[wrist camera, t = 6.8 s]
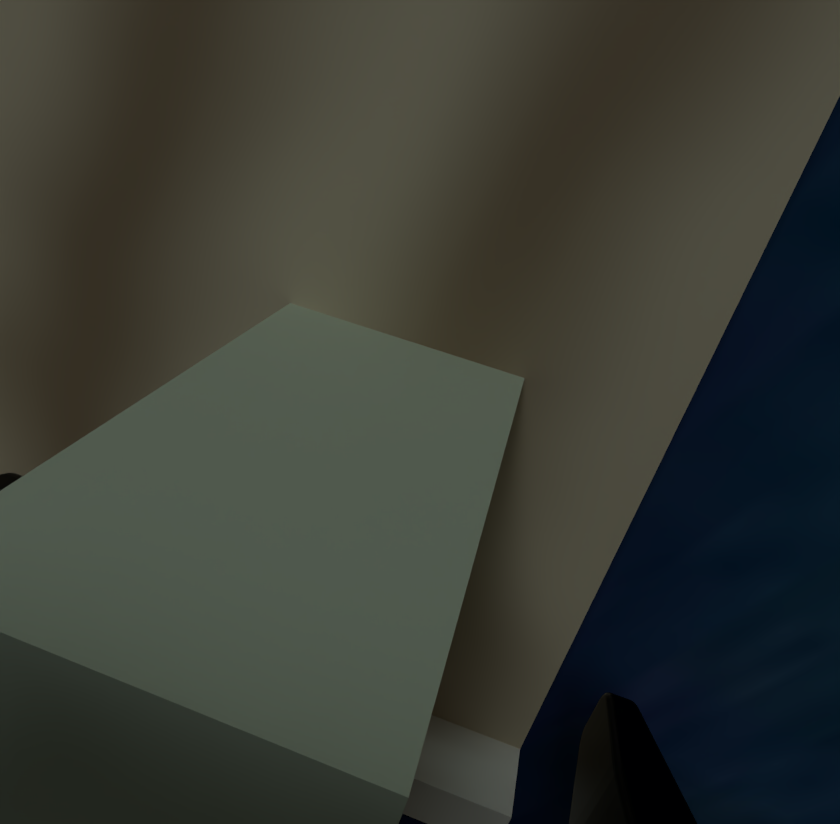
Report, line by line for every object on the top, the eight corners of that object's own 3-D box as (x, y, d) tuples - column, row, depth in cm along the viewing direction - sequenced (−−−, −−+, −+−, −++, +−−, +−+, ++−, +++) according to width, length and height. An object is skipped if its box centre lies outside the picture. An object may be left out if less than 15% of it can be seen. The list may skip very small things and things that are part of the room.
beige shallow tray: (902, -90, 8) (1026, -167, 5) (506, 747, 15) (491, 856, 13) (-389, -367, 10) (-676, -504, 8) (-169, 486, 17) (-279, 542, 15)
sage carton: (524, 378, 10) (408, 799, 4) (426, 661, 13) (277, 1138, 7) (290, 302, 11) (-134, 577, 4) (248, 593, 14) (-34, 989, 8)
